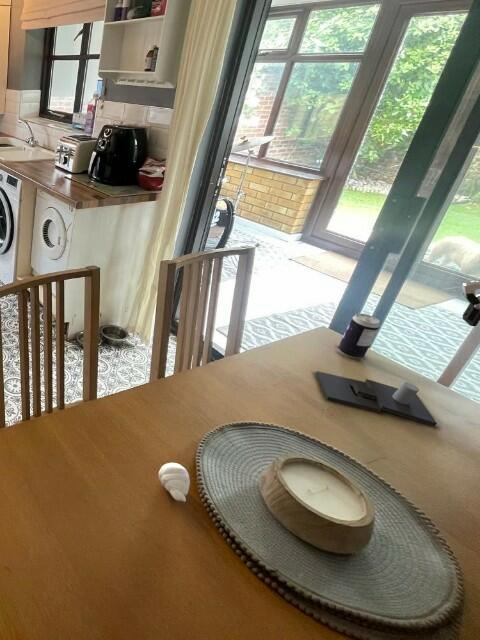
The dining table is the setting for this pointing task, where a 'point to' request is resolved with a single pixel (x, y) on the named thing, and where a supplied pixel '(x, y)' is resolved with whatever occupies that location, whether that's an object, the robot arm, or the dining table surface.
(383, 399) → the pad
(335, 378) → the notch pad
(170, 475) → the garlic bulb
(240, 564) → the dining table surface
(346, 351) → the beverage can
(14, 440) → the dining table surface
